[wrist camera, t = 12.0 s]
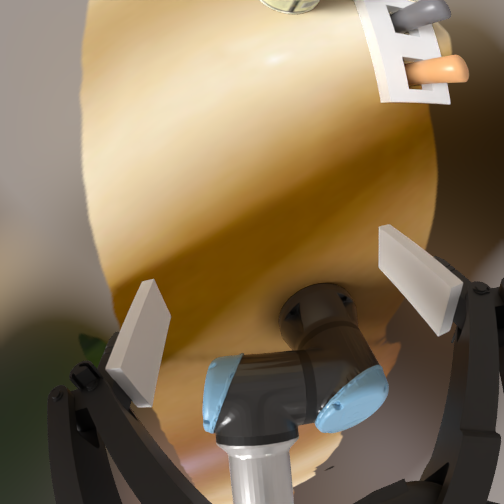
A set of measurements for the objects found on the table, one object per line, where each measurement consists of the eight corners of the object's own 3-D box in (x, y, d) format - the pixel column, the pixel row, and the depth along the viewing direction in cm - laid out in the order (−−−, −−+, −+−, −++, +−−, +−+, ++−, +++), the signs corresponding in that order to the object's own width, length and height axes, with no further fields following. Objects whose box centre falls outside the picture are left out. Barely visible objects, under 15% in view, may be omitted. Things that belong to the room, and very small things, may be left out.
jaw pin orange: (418, 86, 33) (471, 83, 21) (401, 85, 33) (454, 80, 21) (414, 65, 31) (465, 57, 20) (397, 63, 31) (447, 52, 20)
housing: (440, 104, 34) (450, 104, 32) (380, 102, 35) (390, 101, 32) (415, 8, 26) (424, 5, 23) (352, -3, 26) (359, -10, 23)
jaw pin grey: (406, 35, 29) (454, 21, 17) (388, 33, 29) (435, 14, 17) (400, 17, 27) (445, -2, 15) (382, 14, 27) (426, -9, 15)
